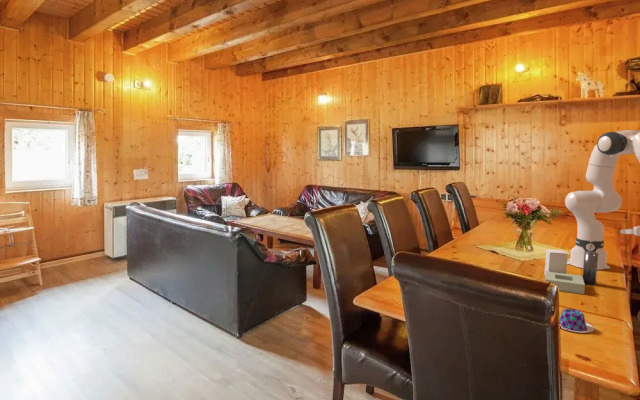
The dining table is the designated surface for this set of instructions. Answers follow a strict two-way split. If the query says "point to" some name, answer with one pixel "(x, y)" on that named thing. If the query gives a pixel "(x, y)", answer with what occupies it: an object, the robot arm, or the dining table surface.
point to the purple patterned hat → (574, 321)
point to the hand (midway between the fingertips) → (621, 231)
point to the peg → (590, 267)
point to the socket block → (566, 282)
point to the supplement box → (556, 261)
